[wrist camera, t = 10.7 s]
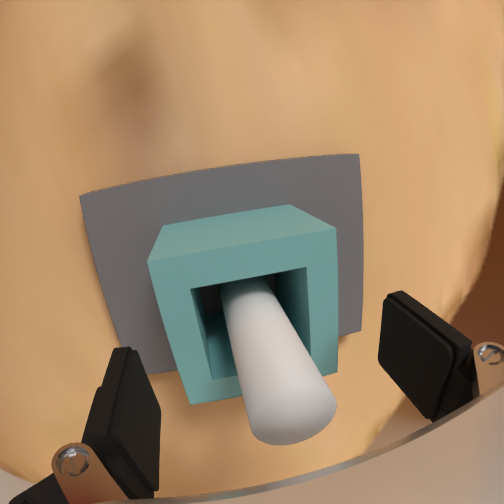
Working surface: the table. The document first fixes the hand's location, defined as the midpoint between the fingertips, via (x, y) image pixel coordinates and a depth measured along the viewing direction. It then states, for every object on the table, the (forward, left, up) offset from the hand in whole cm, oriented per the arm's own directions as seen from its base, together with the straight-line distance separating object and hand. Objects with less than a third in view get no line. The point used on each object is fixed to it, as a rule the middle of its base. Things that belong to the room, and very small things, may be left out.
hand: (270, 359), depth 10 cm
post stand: (0, 0, -10) cm, 10 cm away
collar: (0, 0, -8) cm, 8 cm away
